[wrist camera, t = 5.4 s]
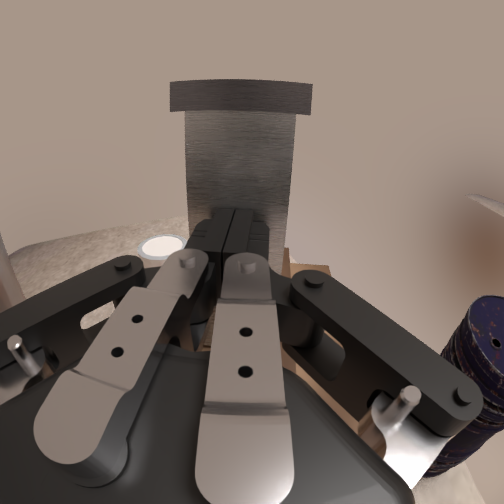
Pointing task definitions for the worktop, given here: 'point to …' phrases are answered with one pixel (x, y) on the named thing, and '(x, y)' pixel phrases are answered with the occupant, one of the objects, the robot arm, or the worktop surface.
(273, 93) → the grey metal tall block
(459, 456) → the dark blue ribbed barrel
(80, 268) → the worktop surface
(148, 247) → the white cylinder
